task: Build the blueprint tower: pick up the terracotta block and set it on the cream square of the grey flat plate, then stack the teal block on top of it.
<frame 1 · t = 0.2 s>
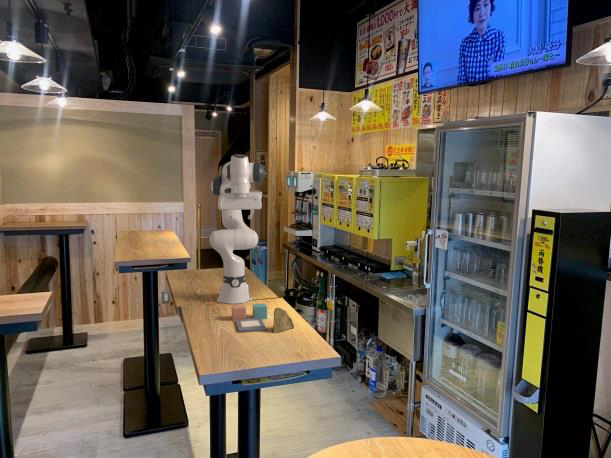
hand: (239, 219, 215), 47 cm above the table, tool pointing down, fingers open, 8 cm apart
rock: (283, 330, 202), on the table
teal block: (259, 317, 220), on the table
grey flat plate: (250, 325, 207), on the table
terracotta block: (238, 318, 218), on the table
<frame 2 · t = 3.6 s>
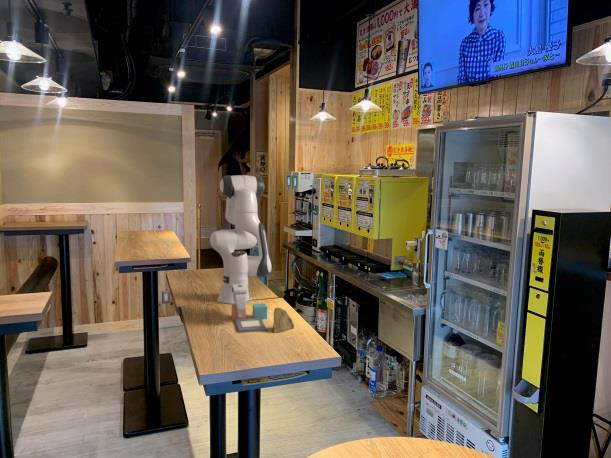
hand: (238, 314, 217), 2 cm above the table, tool pointing down, fingers closed on terracotta block, 6 cm apart
terracotta block: (238, 318, 218), on the table, touching gripper
everything else where it was.
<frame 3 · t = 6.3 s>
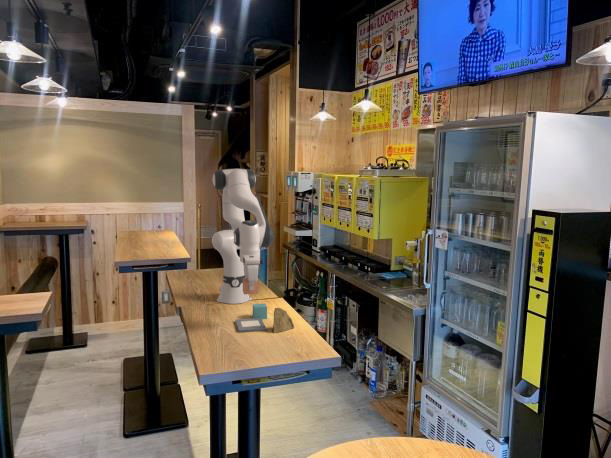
hand: (250, 287, 205), 17 cm above the table, tool pointing down, fingers closed on terracotta block, 6 cm apart
terracotta block: (250, 292, 205), point 15 cm above the table, touching gripper
everything else where it was.
when the fingers open (5 cm above the table, at t = 9.2 s): terracotta block drops 1 cm, resting on grey flat plate.
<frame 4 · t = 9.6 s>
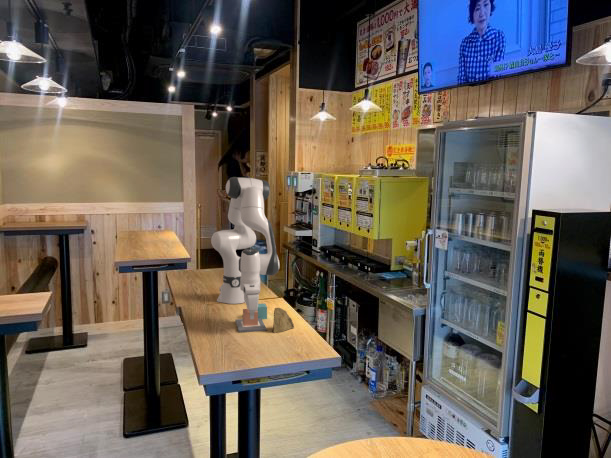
hand: (250, 315, 207), 5 cm above the table, tool pointing down, fingers open, 8 cm apart
terracotta block: (250, 323, 207), point 1 cm above the table, touching grey flat plate
everything else where it was.
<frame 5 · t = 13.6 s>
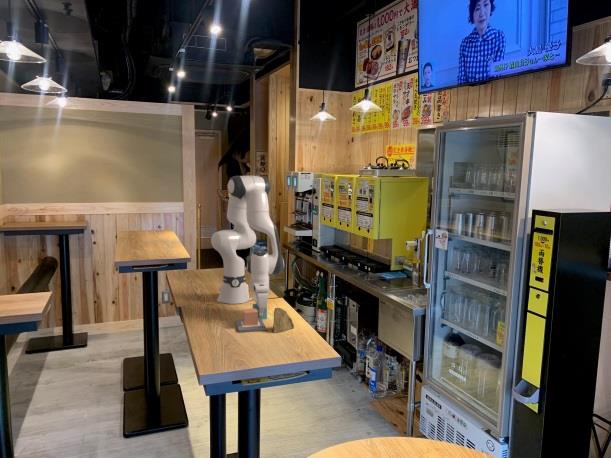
hand: (259, 313, 220), 2 cm above the table, tool pointing down, fingers closed on teal block, 6 cm apart
teal block: (259, 317, 220), on the table, touching gripper
everything else where it was.
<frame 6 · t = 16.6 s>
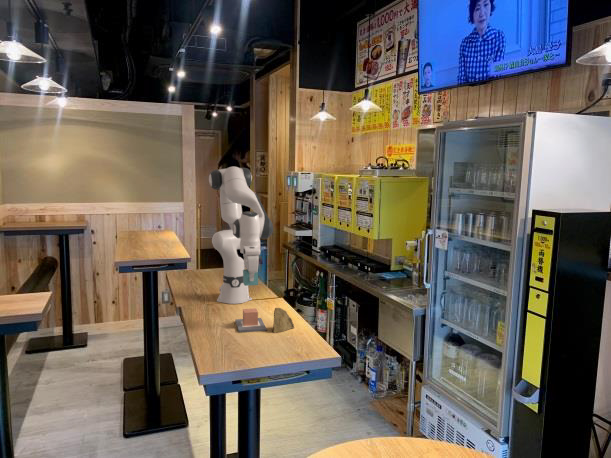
hand: (250, 279, 205), 21 cm above the table, tool pointing down, fingers closed on teal block, 6 cm apart
teal block: (250, 283, 205), point 19 cm above the table, touching gripper
everything else where it was.
when the fingers open (10 cm above the table, at t = 19.7 s): teal block drops 1 cm, resting on terracotta block.
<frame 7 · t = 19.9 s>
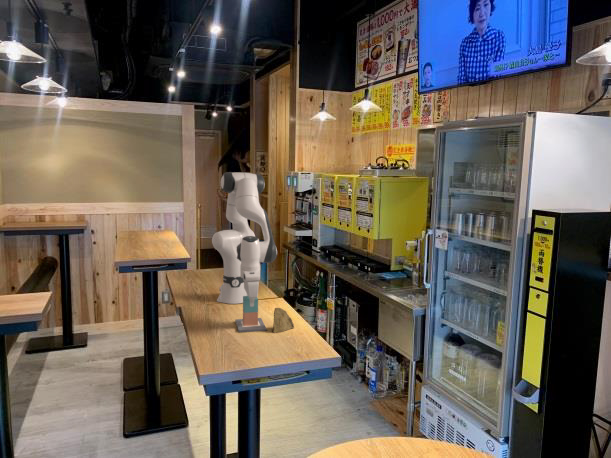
hand: (250, 303, 206), 10 cm above the table, tool pointing down, fingers open, 8 cm apart
teal block: (250, 310, 206), point 7 cm above the table, touching terracotta block
terracotta block: (250, 323, 207), point 1 cm above the table, touching grey flat plate, teal block
everything else where it was.
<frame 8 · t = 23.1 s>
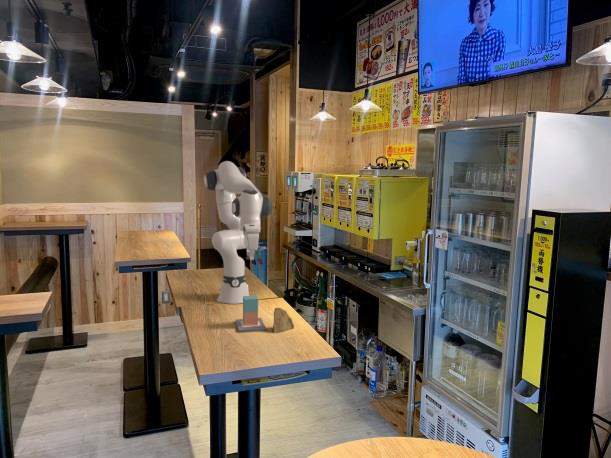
hand: (250, 257, 204), 31 cm above the table, tool pointing down, fingers open, 8 cm apart
nothing on the table moved.
at the end: terracotta block 0.1 cm off-centre on the grey flat plate, point 1.1 cm above the grey flat plate's base; teal block 0.1 cm off-centre on the grey flat plate, point 7.1 cm above the grey flat plate's base; teal block tilted 0° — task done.
